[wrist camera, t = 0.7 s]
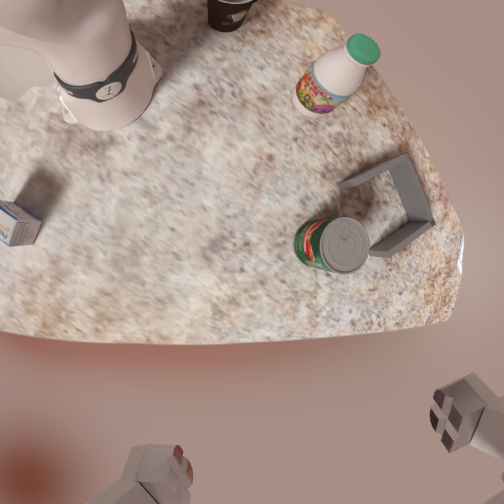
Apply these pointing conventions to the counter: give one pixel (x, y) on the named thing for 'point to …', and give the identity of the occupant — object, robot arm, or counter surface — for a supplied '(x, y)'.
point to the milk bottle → (334, 76)
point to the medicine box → (17, 225)
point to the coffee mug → (227, 13)
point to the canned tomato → (332, 244)
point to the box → (410, 197)
